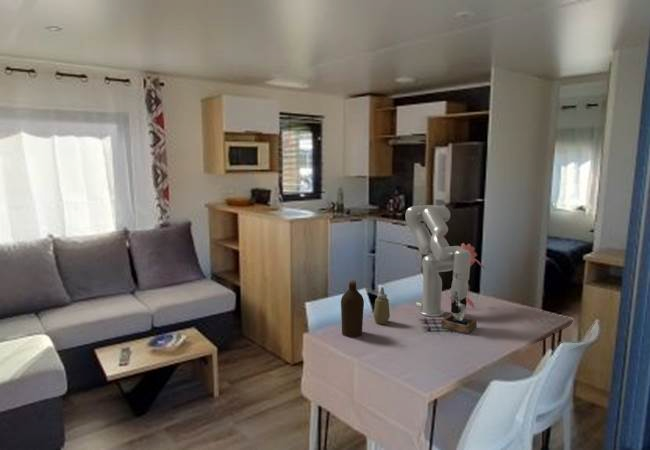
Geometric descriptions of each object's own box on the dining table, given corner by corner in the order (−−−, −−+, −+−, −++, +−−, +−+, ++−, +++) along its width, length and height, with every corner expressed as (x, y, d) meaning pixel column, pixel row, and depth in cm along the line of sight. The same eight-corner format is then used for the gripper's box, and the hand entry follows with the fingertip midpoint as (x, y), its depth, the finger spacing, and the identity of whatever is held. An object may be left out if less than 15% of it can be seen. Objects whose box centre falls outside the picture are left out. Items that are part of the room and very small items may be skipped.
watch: (450, 327, 215) (451, 305, 214) (457, 322, 221) (458, 301, 220) (461, 330, 212) (462, 307, 210) (468, 325, 218) (469, 303, 216)
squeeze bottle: (371, 324, 222) (371, 288, 219) (375, 318, 229) (376, 284, 226) (387, 326, 218) (388, 290, 216) (391, 321, 226) (392, 286, 223)
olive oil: (365, 337, 205) (366, 283, 202) (343, 338, 203) (343, 284, 200) (360, 328, 215) (361, 277, 212) (338, 330, 214) (338, 278, 210)
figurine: (477, 313, 238) (481, 248, 233) (437, 301, 258) (440, 241, 253) (493, 308, 247) (497, 245, 243) (453, 297, 267) (456, 239, 263)
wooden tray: (441, 328, 216) (441, 320, 216) (450, 322, 225) (451, 314, 224) (467, 334, 208) (468, 326, 208) (476, 328, 217) (476, 320, 216)
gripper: (460, 270, 222) (458, 303, 225) (445, 278, 209) (443, 313, 212) (475, 273, 217) (472, 307, 220) (461, 281, 204) (458, 317, 207)
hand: (458, 309), depth 216 cm, fingers open, 9 cm apart
